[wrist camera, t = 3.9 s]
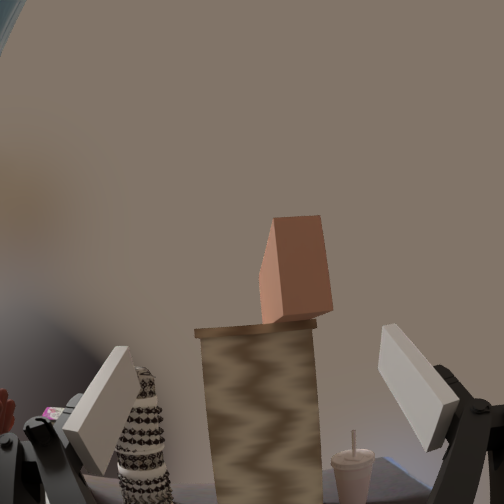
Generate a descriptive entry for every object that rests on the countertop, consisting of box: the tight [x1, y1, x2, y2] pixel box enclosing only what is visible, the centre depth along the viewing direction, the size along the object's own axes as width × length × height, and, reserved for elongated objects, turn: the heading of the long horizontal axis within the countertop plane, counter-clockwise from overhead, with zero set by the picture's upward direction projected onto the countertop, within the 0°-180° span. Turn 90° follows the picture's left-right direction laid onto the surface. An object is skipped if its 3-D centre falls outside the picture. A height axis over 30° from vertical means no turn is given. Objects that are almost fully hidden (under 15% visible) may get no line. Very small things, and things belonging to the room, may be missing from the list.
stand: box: [194, 319, 323, 504], centre depth 37 cm, size 13×15×30 cm
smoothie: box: [331, 430, 375, 504], centre depth 37 cm, size 6×6×14 cm
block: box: [259, 215, 333, 324], centre depth 37 cm, size 4×24×8 cm, turn 2°
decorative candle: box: [114, 367, 174, 504], centre depth 42 cm, size 9×9×25 cm
